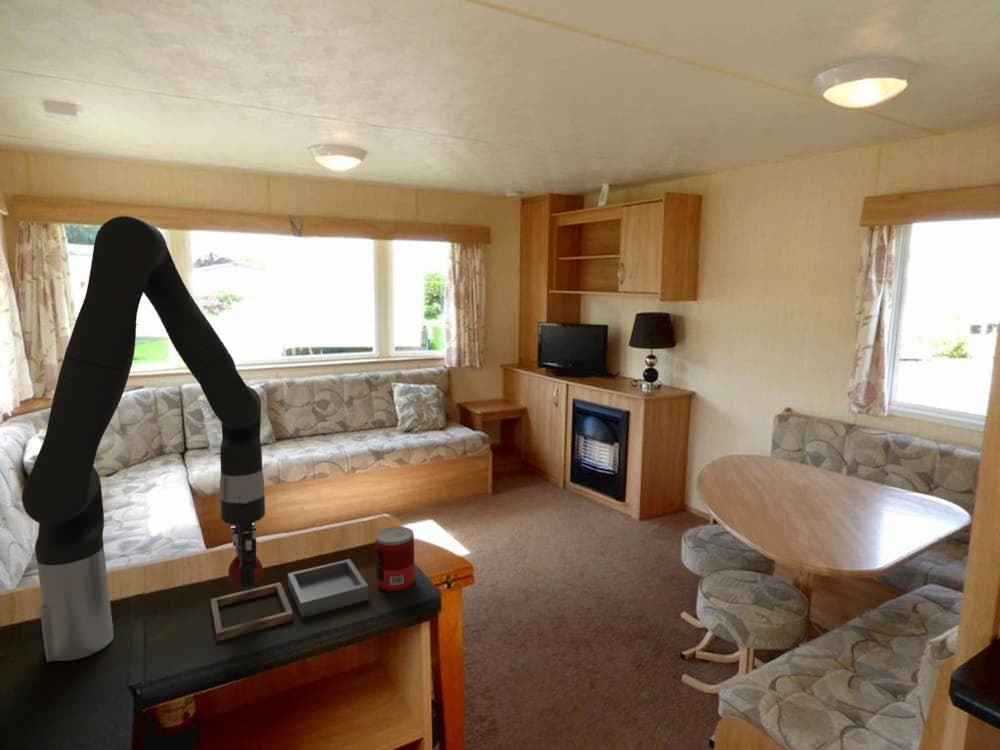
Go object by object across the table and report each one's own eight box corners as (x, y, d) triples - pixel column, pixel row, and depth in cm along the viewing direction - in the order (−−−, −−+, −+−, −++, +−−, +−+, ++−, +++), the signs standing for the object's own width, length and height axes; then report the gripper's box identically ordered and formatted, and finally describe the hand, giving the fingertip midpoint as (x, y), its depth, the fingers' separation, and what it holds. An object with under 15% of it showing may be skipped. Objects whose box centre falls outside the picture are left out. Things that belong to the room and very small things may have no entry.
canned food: (422, 579, 125) (421, 531, 123) (396, 596, 118) (395, 545, 116) (395, 570, 129) (393, 523, 127) (369, 586, 122) (367, 536, 120)
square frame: (217, 641, 103) (216, 633, 103) (211, 606, 114) (210, 599, 114) (293, 620, 110) (292, 612, 110) (280, 588, 121) (280, 582, 121)
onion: (239, 600, 107) (237, 559, 106) (223, 589, 110) (221, 549, 109) (268, 587, 112) (267, 548, 110) (252, 578, 115) (250, 539, 114)
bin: (301, 617, 110) (300, 603, 110) (288, 587, 122) (287, 573, 121) (368, 599, 117) (368, 585, 116) (350, 571, 128) (349, 558, 128)
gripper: (216, 484, 112) (220, 566, 115) (224, 510, 100) (227, 601, 103) (258, 479, 116) (261, 559, 119) (270, 503, 104) (272, 591, 106)
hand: (245, 578), depth 111 cm, fingers closed on onion, 5 cm apart
